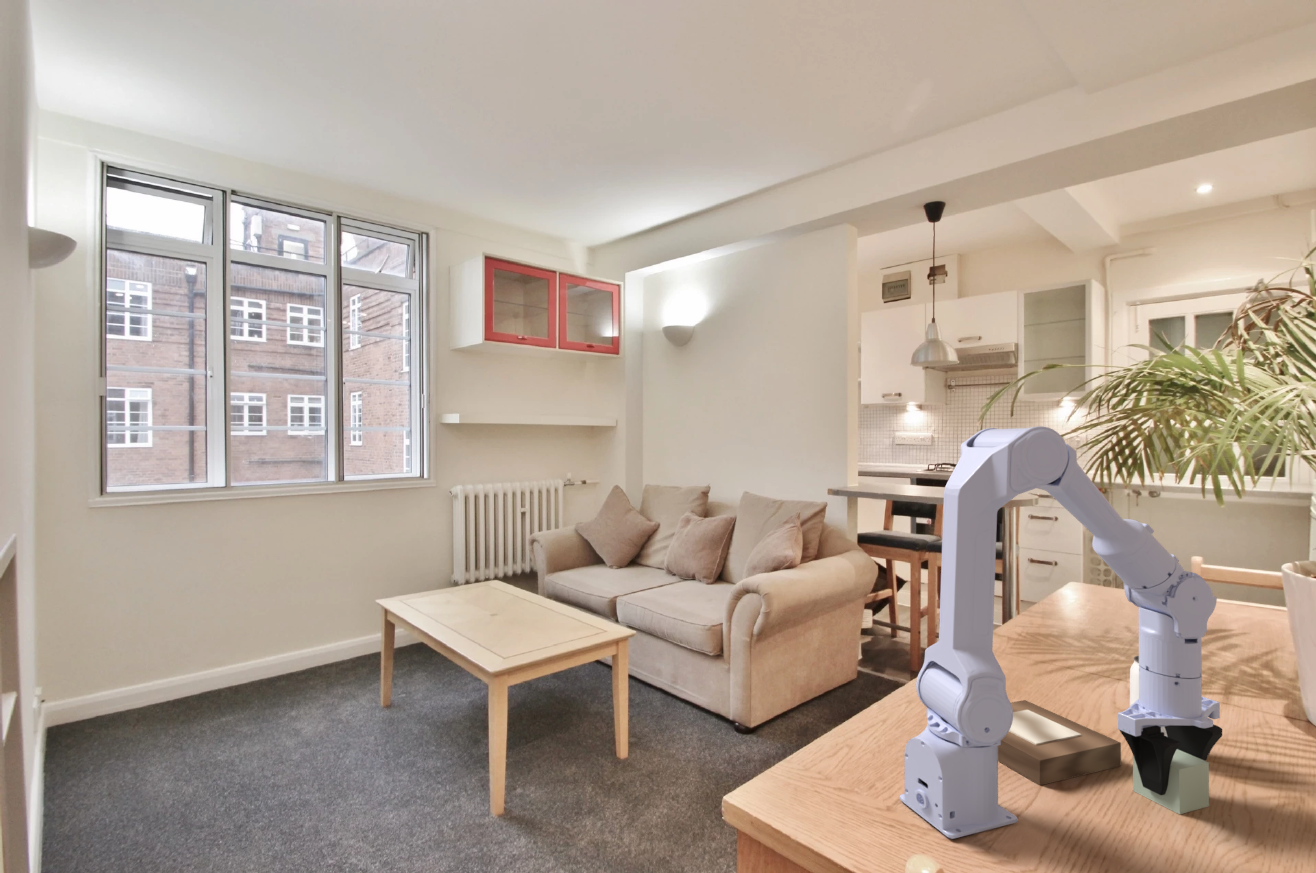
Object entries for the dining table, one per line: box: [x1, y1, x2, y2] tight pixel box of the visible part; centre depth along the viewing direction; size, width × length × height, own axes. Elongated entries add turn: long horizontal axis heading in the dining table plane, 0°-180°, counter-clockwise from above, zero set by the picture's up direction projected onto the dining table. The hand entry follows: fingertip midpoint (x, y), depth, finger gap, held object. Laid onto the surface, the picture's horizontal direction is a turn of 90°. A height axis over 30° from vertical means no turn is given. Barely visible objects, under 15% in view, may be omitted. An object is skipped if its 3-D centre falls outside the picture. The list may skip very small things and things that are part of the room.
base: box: [998, 699, 1122, 786], centre depth 85 cm, size 14×14×3 cm
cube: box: [1132, 749, 1210, 815], centre depth 73 cm, size 5×5×5 cm
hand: (1170, 786), depth 73 cm, fingers closed on cube, 5 cm apart
